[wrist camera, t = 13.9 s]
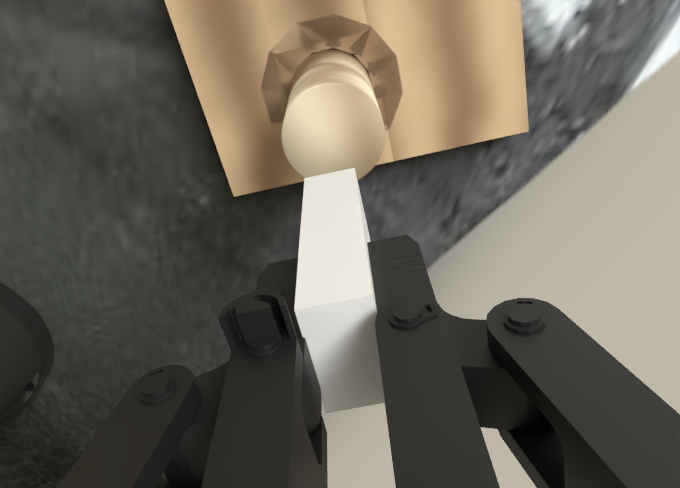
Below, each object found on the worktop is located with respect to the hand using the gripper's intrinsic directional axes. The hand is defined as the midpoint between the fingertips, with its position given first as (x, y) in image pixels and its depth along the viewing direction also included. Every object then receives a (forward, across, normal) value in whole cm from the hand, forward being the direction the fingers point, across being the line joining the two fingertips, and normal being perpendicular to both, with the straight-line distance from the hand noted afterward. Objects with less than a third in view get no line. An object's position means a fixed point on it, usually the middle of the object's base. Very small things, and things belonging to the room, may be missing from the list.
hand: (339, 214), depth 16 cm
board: (+26, +2, 0) cm, 26 cm away
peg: (+26, 0, -2) cm, 26 cm away
